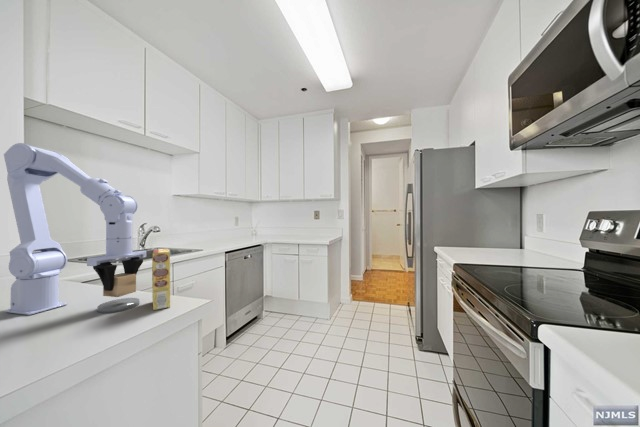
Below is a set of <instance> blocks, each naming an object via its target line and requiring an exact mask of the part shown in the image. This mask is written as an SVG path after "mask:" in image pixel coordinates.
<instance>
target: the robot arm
mask: <svg viewBox="0 0 640 427" xmlns="http://www.w3.org/2000/svg"><path fill="white" fill-rule="evenodd" d="M3 157H4V163H5V166H6V171H7V176H6V177H7V179H6V180H7V185H8V189H9V194H10V199H11V203H12V208H13V213H14V217H15V218H14V219H15V222H16V226H17V232H18V235H19V236H18V237H19V240H20V243H19V244H18V245H16V247H14V248H12V249H11V250H10V251H9V256H10V259H9V262H8V270H9V272H10V274H11V275H12V276H13V277H15V280H14V282H13V283H12V284H11V285H10V286H11V287H10V308H8V309H6V310H5V312H4V313H12V314H18V315H29V316H31V315H34V314H37V313H41V312H45V311H49V310H53V309H55V308H60V307H63V306H66V305H68V302H63V301H60V297H59V296H60V292H59V291H60V289H59V288H60V274H61V273H62V270H63V269H65V267H66V266H67V265H68V256H67V254H66V253H65V251H64V250H63V248H62V244H60V243H59V242H57V241H56V240H53V239H52V237H51V234H50V229H49V228H50V227H49V223H48V219H47V215H46V210H45V206H44V201H43V197H42V192H41V191H42V190H41V187H40V185H41V184H42V183H43V182H47V181H48V180H49V179H51V178H54V176H56V175H58V174H59V175H61V176H63V177H64V178H66V179H68V180H69V181H70V182H72V183H74V184H76V185H77V186H79V187H80V192H81V194H82V195H84V196H85V197H87V199H90V200H91V201H92V202H94V203H96V204H97V206H99V208H100V211H101V213H102V214H103V216H104V220H105V230H106V231H105V233H106V234H105V235H106V236H105V255H104V254H103V255H100V256H99V255H98V256H94V257H87V258H86V266H87V267H92V268H93V271H95V273H96V274H97V275H98V277H99V279H100V281H101V284H102V287H104V290H105V291H112V290H113V287H114V275H116V270H117V268H118V265H117V264H113V263H116V262H121V263H122V267H123V270H124V272H123V273H127V274H136V275H137V273H138V271H139V270H140V268H141V266H142V265H143V263H144V259H143V258H147V250H137V251H133V234H134V233H133V232H134V231H133V228H134V227H133V224H134V223H133V219H134V218H133V217H134V216H133V215H134V214H135V213H136V212H137V210H138V202H137V201H136V199H135V198H134V197H133V196H131V195H124V194H123V192H122V191H121V190H119V189H116V188H114V187H113V186H111V185H110V184H109V181H108V180H107V179H105V178H99V177H91V176H89V174H87V173H85V172H84V171H83V170H82V169H81V168H79V167H78V166H77V165H75V164H74V163H73V162H71V160H70V158H68V157H66V156H65V155H63V154H62V153H60V152H57V151H51V150H48V149H46V148H45V149H44V148H40V147H36V146H33V145H30V144H27V143H24V142H18V143H15V144H12V146H10V147H9V148H8V149H7V150H6V151H5V152H4V153H3Z"/></svg>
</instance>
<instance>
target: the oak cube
mask: <svg viewBox="0 0 640 427" xmlns="http://www.w3.org/2000/svg"><path fill="white" fill-rule="evenodd" d="M102 287H103V286H102ZM102 289H103V290H102V291H103V292H102V295H103V296H104V297H111V298H119V297H122V296H126V295H129V294H133V293H137V274H127V273H125V272H121V273H118V274H116V273H115V275H114V287H113V290H112V291H105V290H104V287H103V288H102Z"/></svg>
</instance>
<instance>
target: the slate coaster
mask: <svg viewBox="0 0 640 427" xmlns="http://www.w3.org/2000/svg"><path fill="white" fill-rule="evenodd" d="M139 305H140V299H139V298H137V297H124V298H117V299H113V300H108V301H106V302H103V303H100V304H99V305H97V310H96V311H97V312H98V313H100V314H110V313H119V312H122V311H128V310H130V309H133V308H135V307H137V306H139Z"/></svg>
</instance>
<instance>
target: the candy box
mask: <svg viewBox="0 0 640 427" xmlns="http://www.w3.org/2000/svg"><path fill="white" fill-rule="evenodd" d="M170 252H171V251H170V249H169V248H159V249H153V251H152V258H151V259H152V265H151V266H152V268H151V270H152V272H151V274H152V278H151V281H152V284H151V285H152V310H153V311H157V310H161V309H167V308H171V257H170V256H171V255H170V254H171V253H170Z"/></svg>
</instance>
